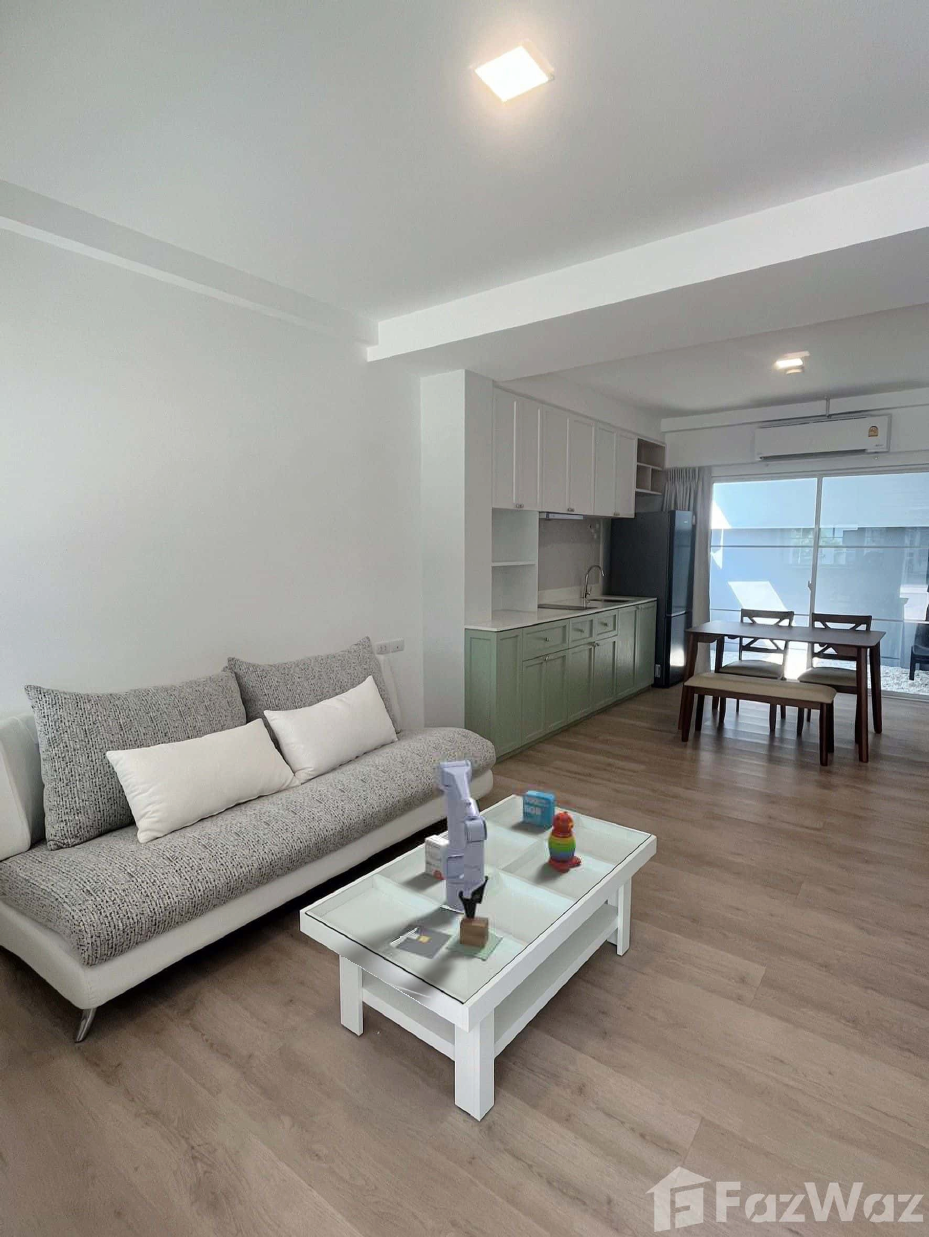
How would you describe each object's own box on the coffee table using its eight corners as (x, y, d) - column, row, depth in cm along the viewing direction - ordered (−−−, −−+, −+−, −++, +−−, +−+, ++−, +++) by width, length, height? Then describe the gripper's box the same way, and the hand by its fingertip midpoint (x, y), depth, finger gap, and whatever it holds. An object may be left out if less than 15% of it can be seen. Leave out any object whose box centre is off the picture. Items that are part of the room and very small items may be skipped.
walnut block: (464, 934, 186) (464, 914, 185) (488, 938, 184) (488, 917, 184) (459, 943, 182) (459, 923, 181) (484, 947, 180) (484, 926, 179)
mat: (465, 926, 191) (465, 924, 191) (503, 936, 186) (503, 935, 186) (445, 948, 180) (445, 947, 180) (485, 960, 175) (485, 959, 175)
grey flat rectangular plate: (409, 923, 192) (409, 923, 192) (452, 936, 186) (452, 935, 186) (387, 946, 182) (387, 945, 182) (431, 959, 175) (431, 959, 175)
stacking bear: (563, 873, 221) (564, 822, 219) (540, 863, 229) (541, 813, 227) (584, 863, 228) (584, 813, 227) (561, 853, 236) (561, 805, 234)
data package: (522, 822, 263) (522, 793, 262) (527, 818, 267) (527, 789, 266) (550, 828, 257) (550, 798, 256) (555, 824, 261) (555, 794, 260)
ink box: (452, 874, 221) (452, 841, 220) (442, 880, 217) (441, 846, 216) (434, 866, 227) (434, 833, 226) (424, 871, 223) (423, 838, 222)
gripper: (467, 849, 189) (467, 894, 190) (451, 873, 175) (452, 922, 176) (491, 852, 187) (491, 898, 188) (477, 876, 173) (477, 926, 174)
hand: (474, 910), depth 182 cm, fingers open, 7 cm apart
